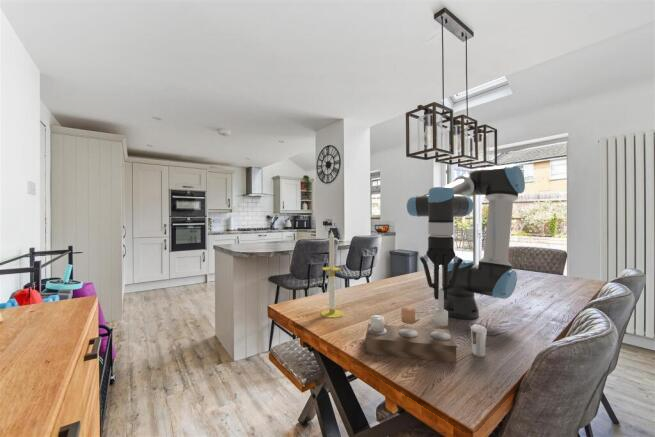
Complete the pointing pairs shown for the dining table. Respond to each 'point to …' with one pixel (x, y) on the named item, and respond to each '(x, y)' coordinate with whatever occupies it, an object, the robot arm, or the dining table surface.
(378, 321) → the knob
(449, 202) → the robot arm
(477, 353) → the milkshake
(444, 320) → the knob
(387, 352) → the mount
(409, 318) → the knob middle
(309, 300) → the dining table surface
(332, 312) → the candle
